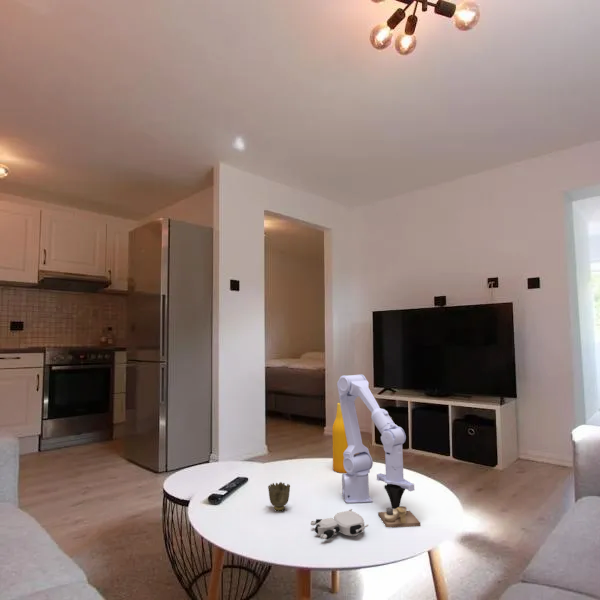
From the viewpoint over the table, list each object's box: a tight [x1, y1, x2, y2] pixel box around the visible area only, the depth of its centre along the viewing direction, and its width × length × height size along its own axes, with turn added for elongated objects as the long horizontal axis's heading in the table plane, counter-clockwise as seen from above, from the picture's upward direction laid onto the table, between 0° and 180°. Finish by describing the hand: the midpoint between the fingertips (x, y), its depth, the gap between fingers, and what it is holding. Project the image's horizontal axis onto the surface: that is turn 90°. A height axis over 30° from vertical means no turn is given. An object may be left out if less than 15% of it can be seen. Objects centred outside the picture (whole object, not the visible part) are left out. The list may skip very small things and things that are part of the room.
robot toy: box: [310, 509, 369, 540], centre depth 126 cm, size 12×4×15 cm
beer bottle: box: [331, 402, 348, 474], centre depth 189 cm, size 9×9×29 cm
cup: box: [267, 481, 291, 512], centre depth 144 cm, size 8×7×8 cm
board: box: [377, 506, 421, 528], centre depth 134 cm, size 11×9×4 cm
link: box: [385, 505, 408, 522], centre depth 135 cm, size 10×3×2 cm, turn 135°
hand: (395, 508), depth 140 cm, fingers closed
